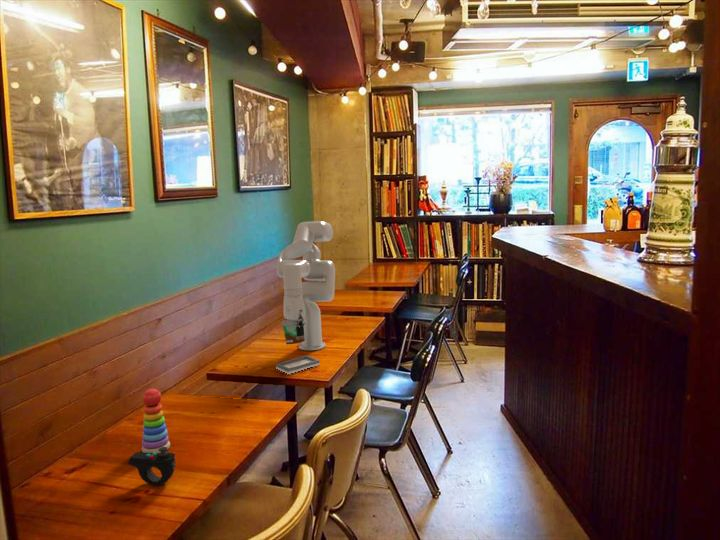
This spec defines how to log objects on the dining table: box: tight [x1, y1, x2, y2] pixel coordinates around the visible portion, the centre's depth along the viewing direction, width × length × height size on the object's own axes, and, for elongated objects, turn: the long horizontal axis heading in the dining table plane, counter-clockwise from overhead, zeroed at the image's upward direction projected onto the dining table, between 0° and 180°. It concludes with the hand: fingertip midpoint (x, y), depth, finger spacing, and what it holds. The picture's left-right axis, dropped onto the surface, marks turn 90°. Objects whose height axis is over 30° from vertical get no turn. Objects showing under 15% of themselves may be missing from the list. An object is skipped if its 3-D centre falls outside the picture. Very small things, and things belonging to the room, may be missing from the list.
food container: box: [281, 318, 305, 345], centre depth 229 cm, size 12×6×10 cm, turn 151°
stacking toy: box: [141, 388, 171, 453], centre depth 162 cm, size 8×8×19 cm
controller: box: [128, 447, 177, 486], centre depth 144 cm, size 4×12×10 cm, turn 80°
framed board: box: [275, 355, 321, 375], centre depth 232 cm, size 10×16×2 cm, turn 129°
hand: (295, 334), depth 230 cm, fingers closed on food container, 6 cm apart
